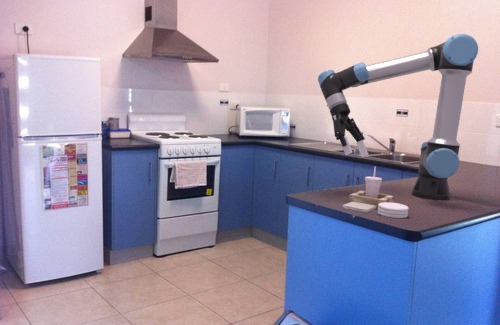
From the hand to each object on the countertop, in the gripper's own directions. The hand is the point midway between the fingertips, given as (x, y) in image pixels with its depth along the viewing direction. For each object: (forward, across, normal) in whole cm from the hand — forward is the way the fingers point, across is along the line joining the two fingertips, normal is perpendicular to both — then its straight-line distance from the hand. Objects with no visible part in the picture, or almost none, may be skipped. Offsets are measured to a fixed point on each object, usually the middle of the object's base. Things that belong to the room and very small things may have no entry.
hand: (357, 155), depth 176 cm
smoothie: (+19, -2, -3) cm, 19 cm away
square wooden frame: (+19, -2, -3) cm, 19 cm away
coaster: (+27, +9, +8) cm, 29 cm away
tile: (+20, +10, -2) cm, 23 cm away
